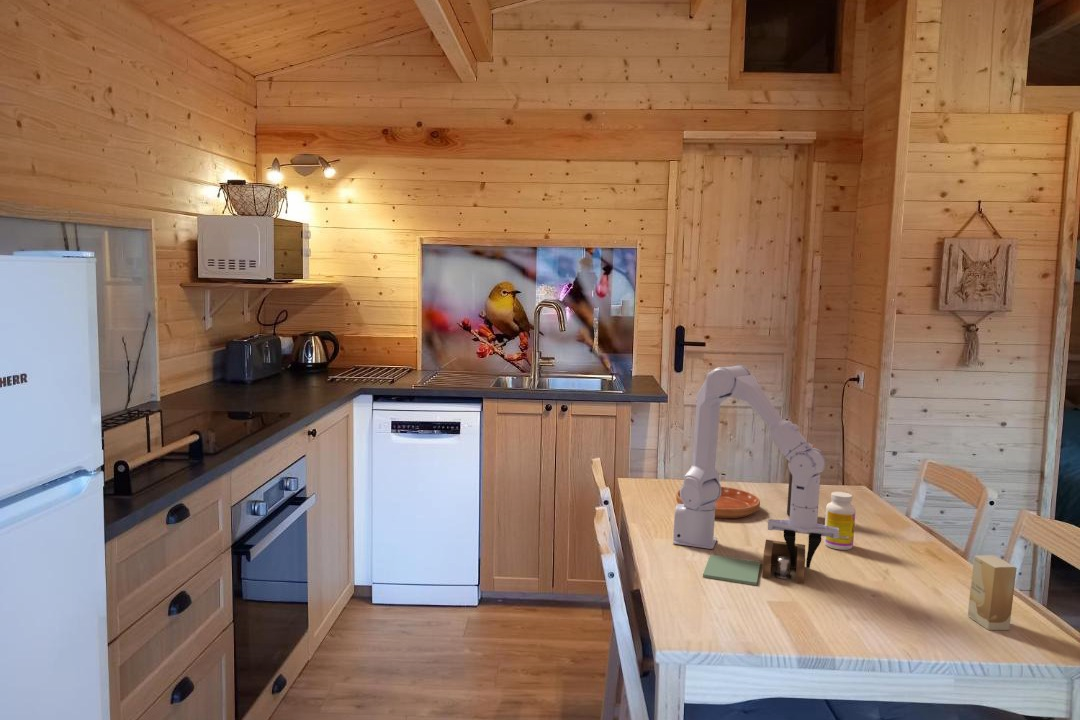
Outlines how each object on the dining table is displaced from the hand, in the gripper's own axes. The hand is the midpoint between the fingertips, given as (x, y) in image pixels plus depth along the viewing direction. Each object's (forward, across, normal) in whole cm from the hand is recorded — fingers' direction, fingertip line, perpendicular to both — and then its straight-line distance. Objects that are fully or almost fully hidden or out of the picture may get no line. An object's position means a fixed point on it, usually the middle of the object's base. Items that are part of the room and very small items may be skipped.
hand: (800, 565), depth 163 cm
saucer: (+2, -22, +42) cm, 48 cm away
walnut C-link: (+1, -3, -2) cm, 4 cm away
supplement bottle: (+2, +9, +22) cm, 24 cm away
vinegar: (+2, 0, +44) cm, 44 cm away
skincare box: (+2, +34, -13) cm, 36 cm away
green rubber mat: (+1, -14, -6) cm, 15 cm away
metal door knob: (+1, -3, -4) cm, 6 cm away
